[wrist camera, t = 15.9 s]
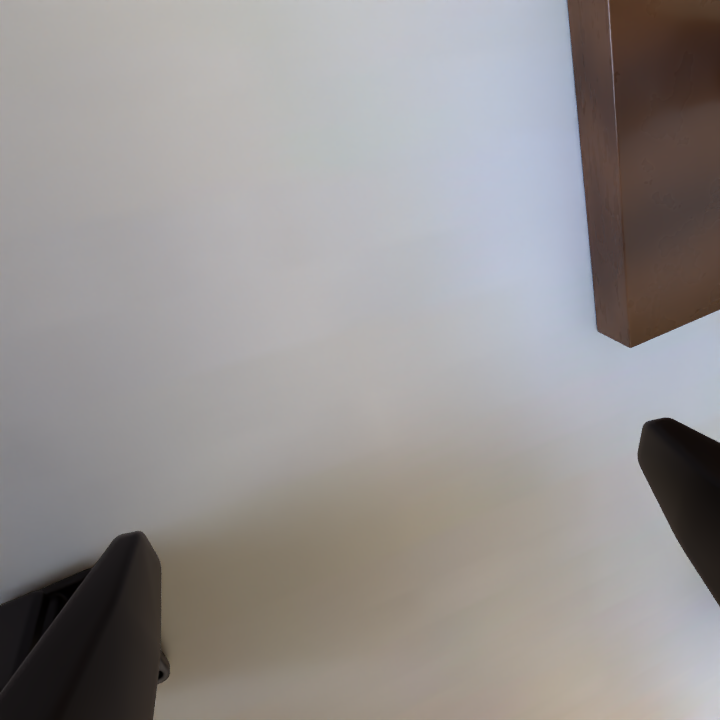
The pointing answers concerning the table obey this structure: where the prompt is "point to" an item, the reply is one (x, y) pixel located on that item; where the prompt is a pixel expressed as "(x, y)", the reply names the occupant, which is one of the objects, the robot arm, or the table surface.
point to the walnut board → (650, 159)
